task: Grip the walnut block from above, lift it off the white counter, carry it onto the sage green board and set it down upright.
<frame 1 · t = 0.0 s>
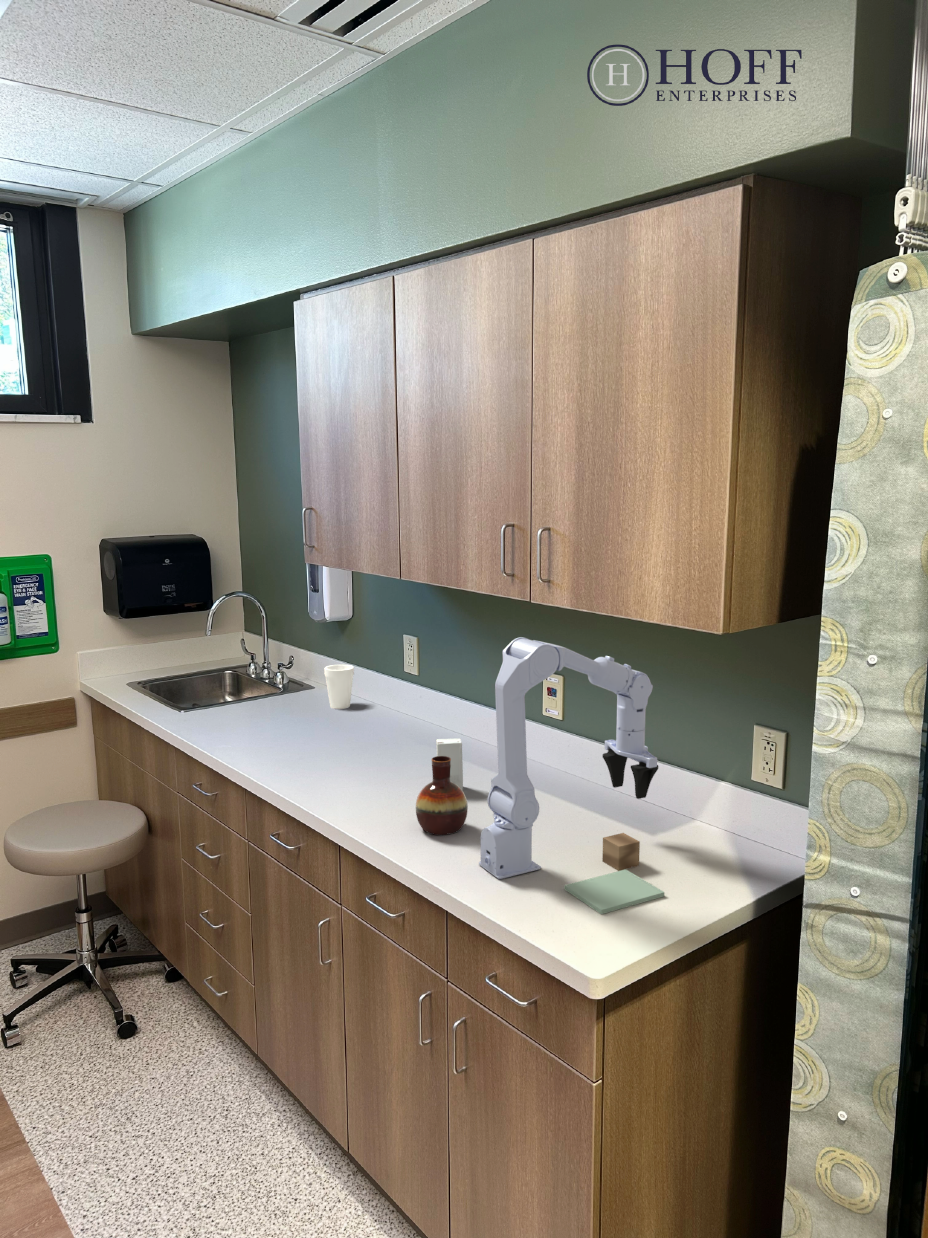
hand: (629, 792, 189), 10 cm above the worktop, tool pointing down, fingers open, 7 cm apart
foam cup: (340, 707, 301), on the worktop
skincare box: (449, 790, 221), on the worktop
walnut block: (620, 864, 179), on the worktop
sage board: (613, 892, 166), on the worktop
vase: (441, 829, 197), on the worktop
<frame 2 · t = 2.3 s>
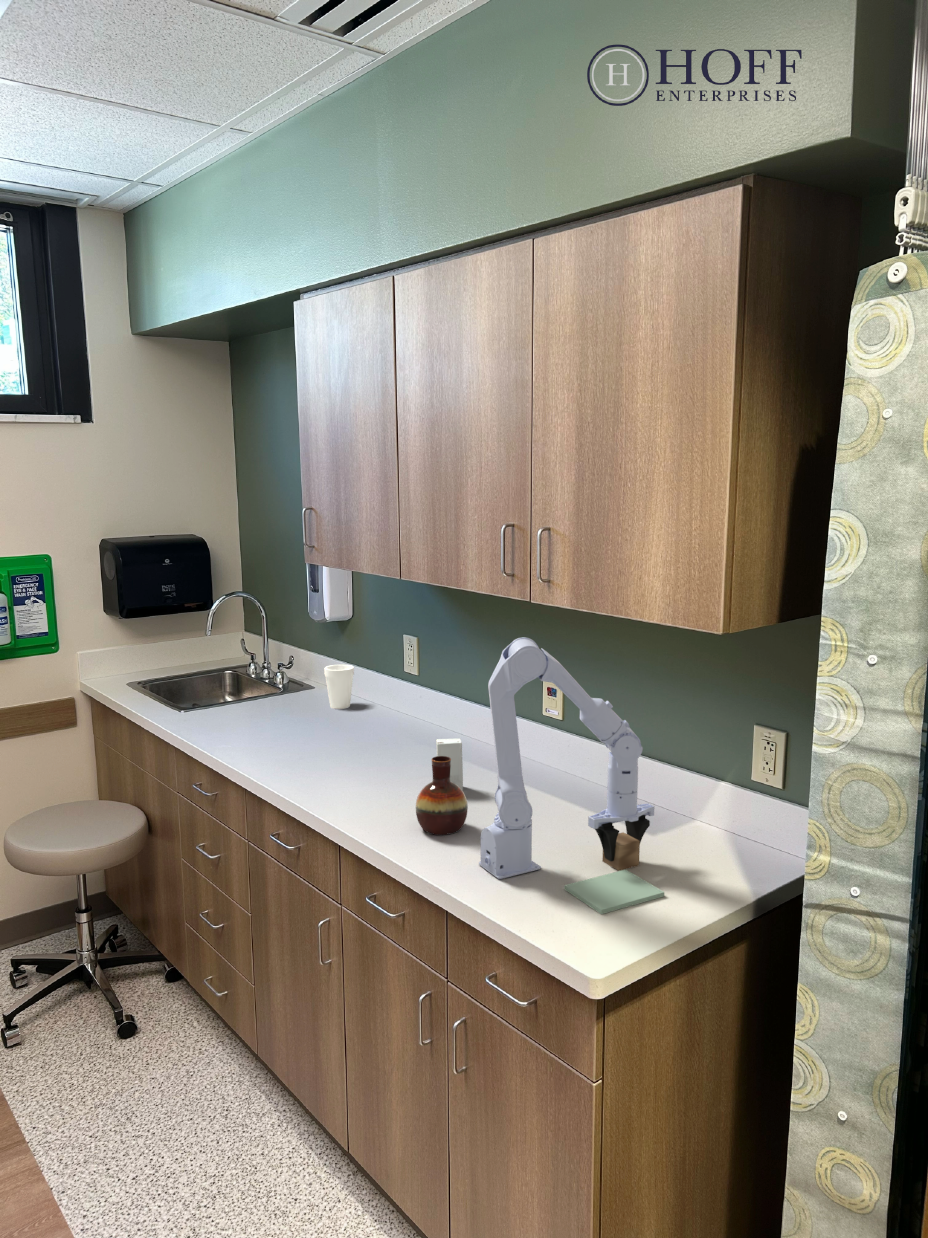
hand: (620, 856, 179), 1 cm above the worktop, tool pointing down, fingers closed on walnut block, 5 cm apart
walnut block: (620, 863, 179), on the worktop, touching gripper
everything else where it was.
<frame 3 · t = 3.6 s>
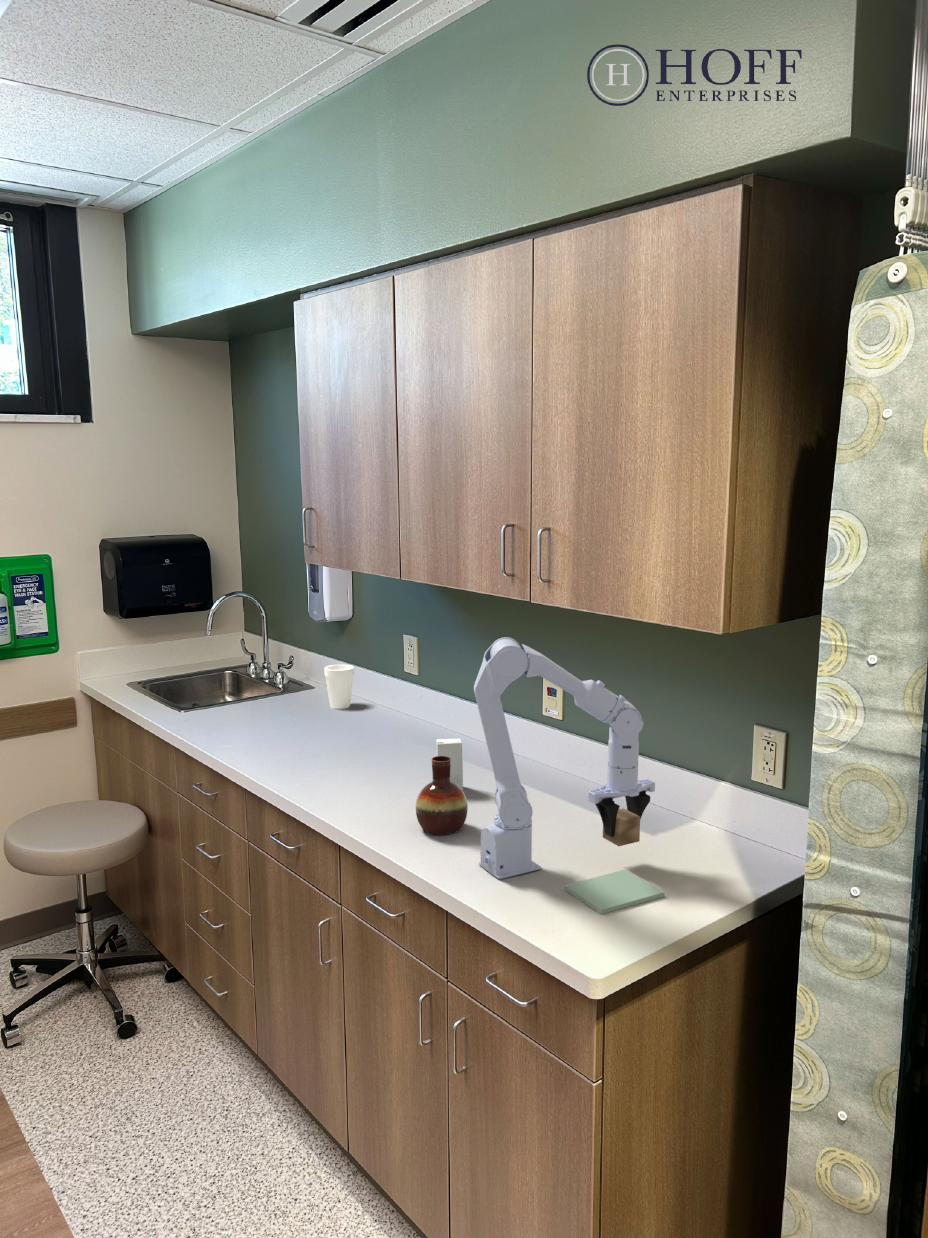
hand: (621, 832, 178), 6 cm above the worktop, tool pointing down, fingers closed on walnut block, 5 cm apart
walnut block: (621, 839, 178), point 5 cm above the worktop, touching gripper
everything else where it was.
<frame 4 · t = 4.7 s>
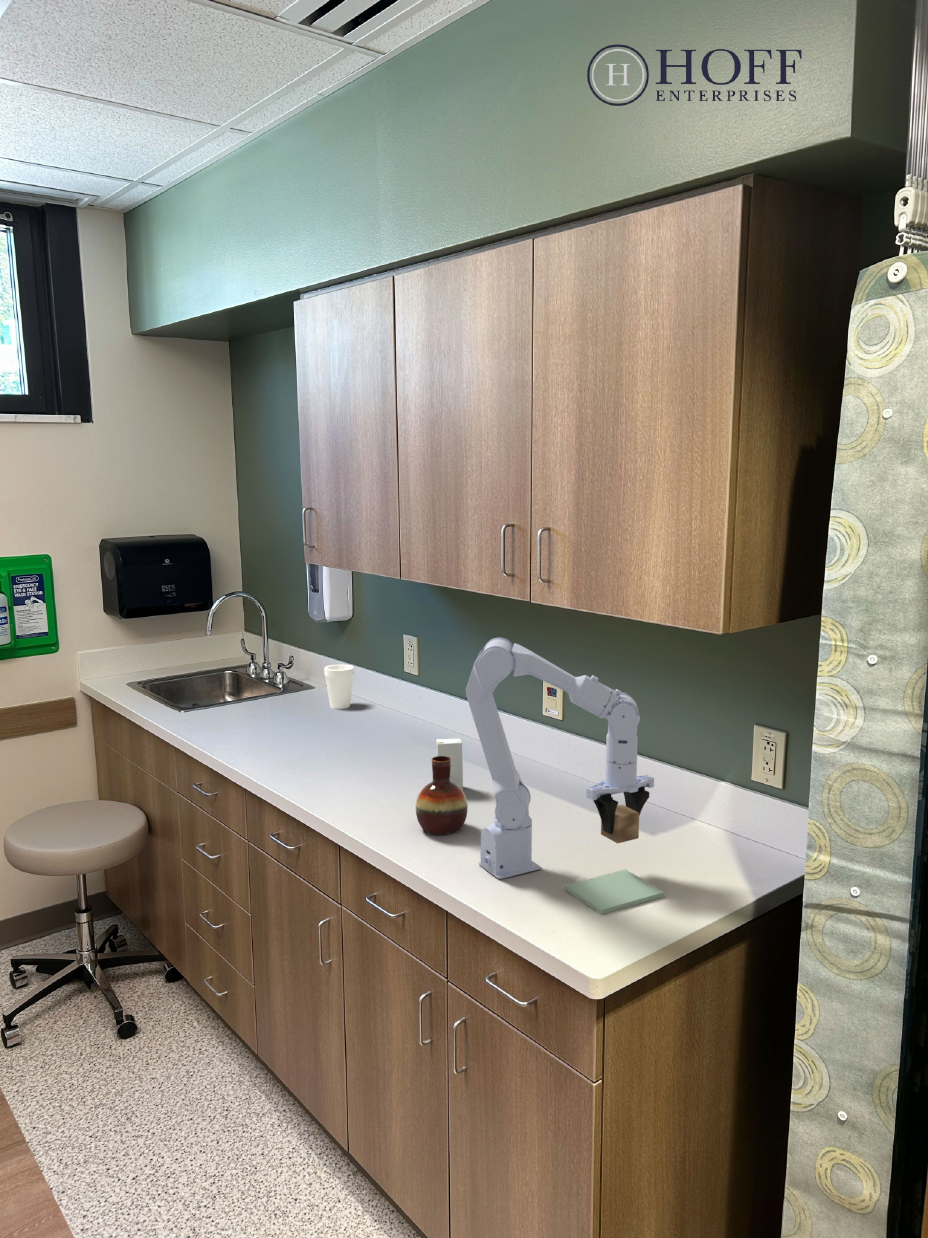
hand: (619, 829, 174), 8 cm above the worktop, tool pointing down, fingers closed on walnut block, 5 cm apart
walnut block: (619, 836, 174), point 7 cm above the worktop, touching gripper
everything else where it was.
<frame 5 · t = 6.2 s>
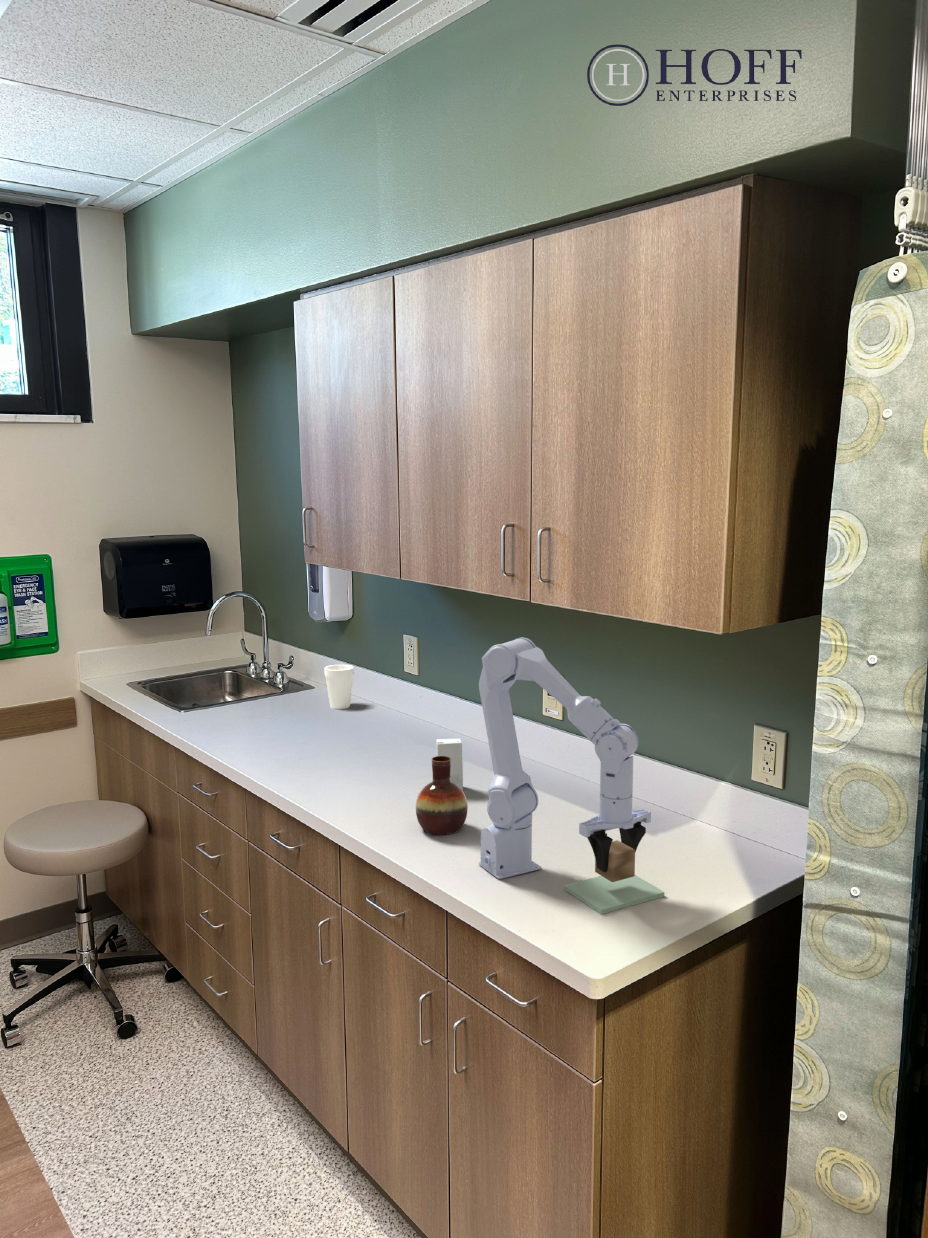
hand: (614, 866, 166), 5 cm above the worktop, tool pointing down, fingers closed on walnut block, 5 cm apart
walnut block: (614, 874, 166), point 4 cm above the worktop, touching gripper
everything else where it was.
when the fingers open (3 cm above the worktop, at t = 7.1 s): walnut block stays where it is, resting on sage board.
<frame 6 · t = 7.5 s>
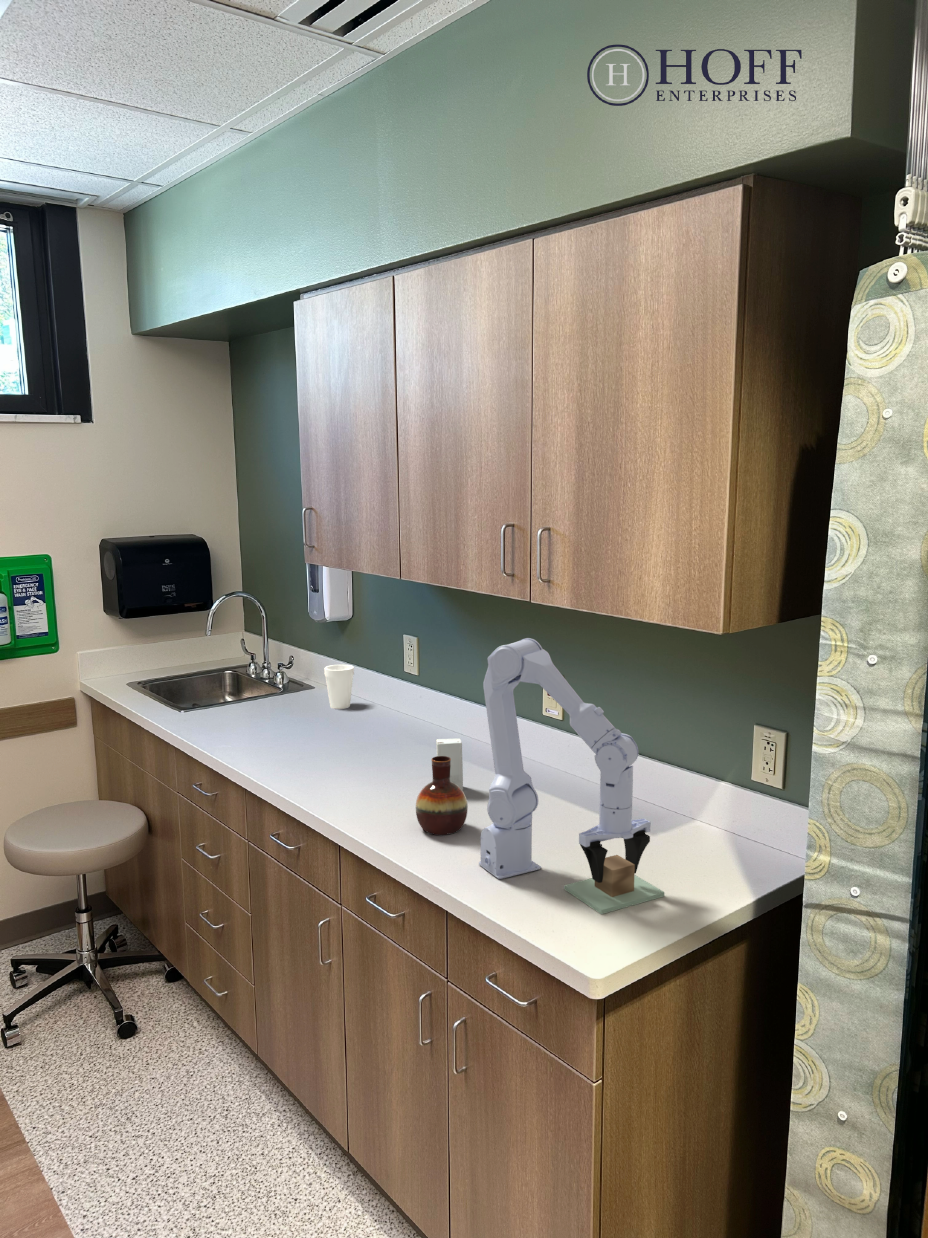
hand: (614, 876, 166), 3 cm above the worktop, tool pointing down, fingers open, 7 cm apart
walnut block: (614, 888, 166), point 1 cm above the worktop, touching sage board
everything else where it was.
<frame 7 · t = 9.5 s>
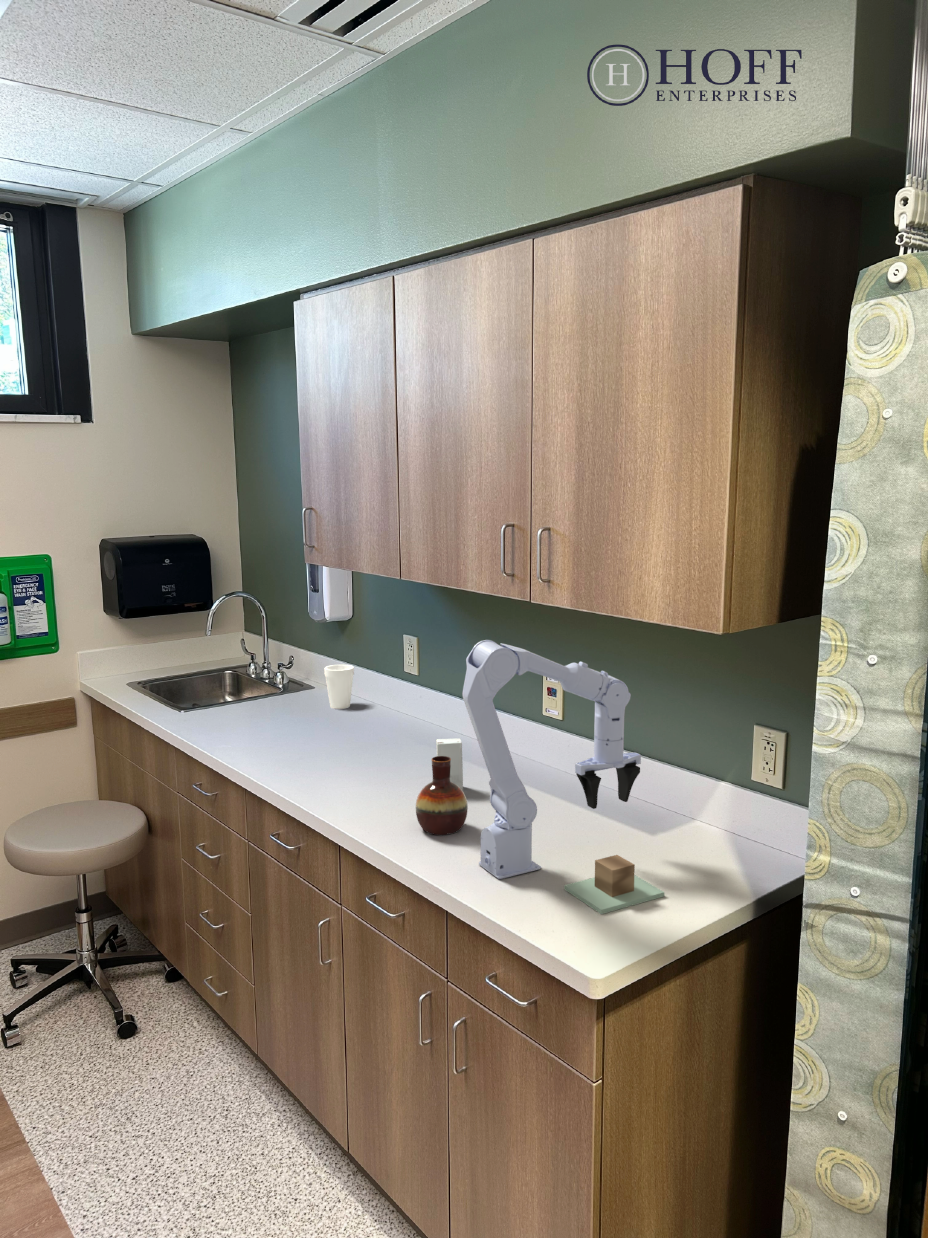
hand: (607, 803, 182), 10 cm above the worktop, tool pointing down, fingers open, 7 cm apart
nothing on the worktop moved.
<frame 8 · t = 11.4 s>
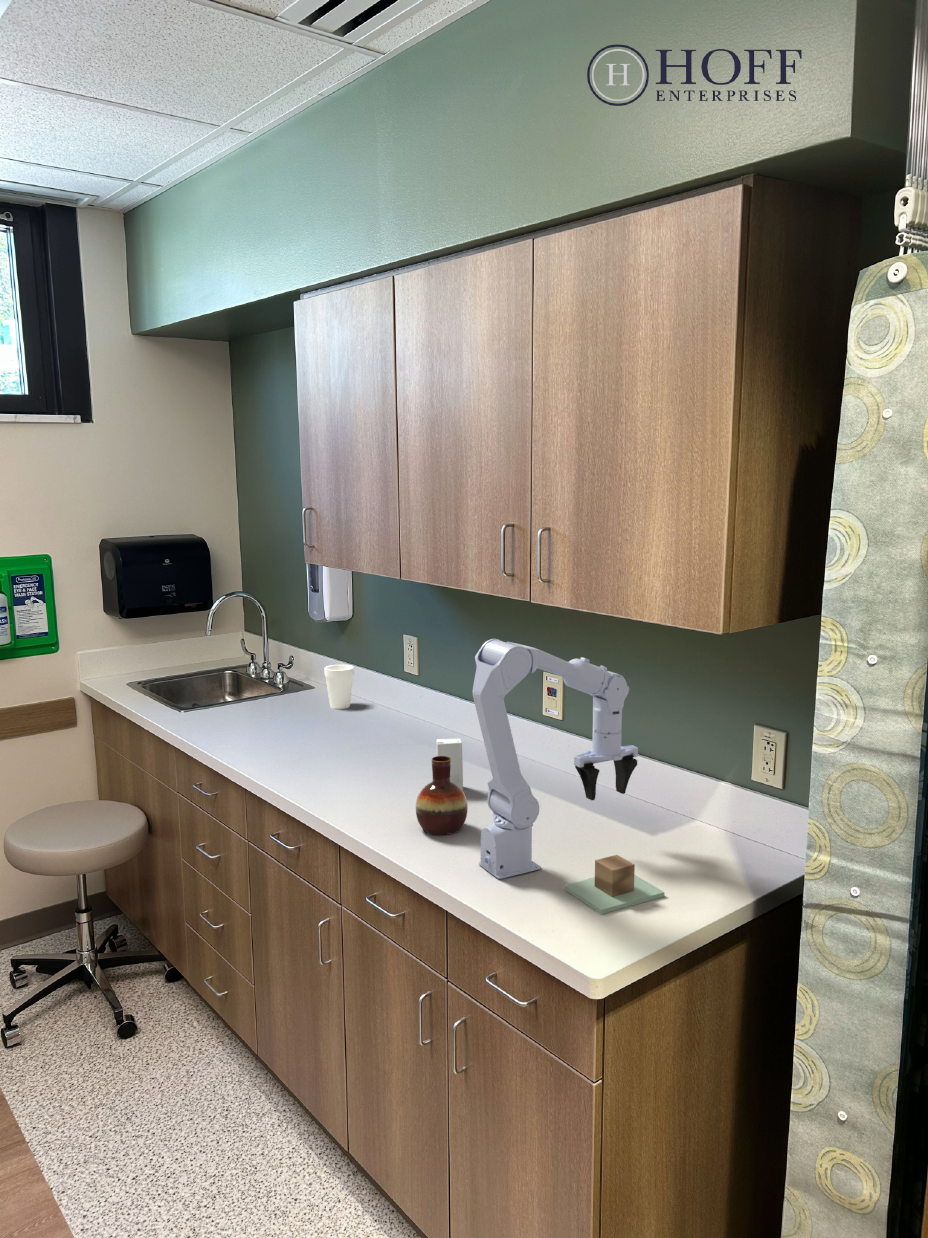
hand: (605, 795, 186), 10 cm above the worktop, tool pointing down, fingers open, 7 cm apart
nothing on the worktop moved.
at the end: walnut block inside the target area on the sage board (0.0 cm from its centre), point 0.8 cm above the sage board's base; walnut block tilted 0°; the gripper is holding nothing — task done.
